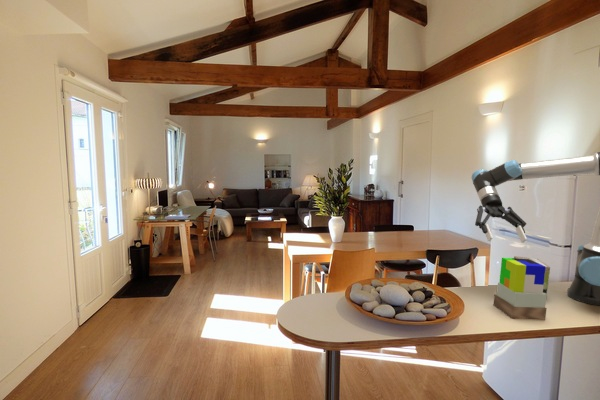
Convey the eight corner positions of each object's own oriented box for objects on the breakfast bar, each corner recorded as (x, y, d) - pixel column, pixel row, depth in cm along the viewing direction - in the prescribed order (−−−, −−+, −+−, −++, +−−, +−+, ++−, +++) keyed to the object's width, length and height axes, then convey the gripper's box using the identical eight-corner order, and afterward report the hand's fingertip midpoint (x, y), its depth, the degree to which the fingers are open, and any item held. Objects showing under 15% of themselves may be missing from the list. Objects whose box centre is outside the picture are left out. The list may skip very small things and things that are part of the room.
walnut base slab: (523, 307, 134) (525, 295, 134) (545, 321, 122) (546, 308, 122) (493, 306, 135) (494, 294, 134) (511, 319, 123) (512, 306, 122)
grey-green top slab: (524, 296, 133) (525, 283, 133) (545, 307, 122) (546, 294, 122) (496, 295, 133) (498, 282, 133) (514, 306, 122) (516, 293, 122)
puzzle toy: (542, 293, 122) (545, 266, 121) (513, 292, 123) (516, 264, 122) (525, 284, 132) (528, 259, 131) (499, 282, 133) (501, 257, 132)
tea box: (546, 301, 141) (551, 266, 139) (519, 297, 144) (522, 263, 142) (535, 289, 155) (538, 258, 153) (509, 286, 158) (513, 255, 157)
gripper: (513, 205, 153) (533, 246, 139) (458, 203, 152) (472, 243, 139) (522, 194, 147) (543, 236, 133) (465, 192, 146) (480, 233, 133)
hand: (507, 240), depth 136 cm, fingers open, 13 cm apart
